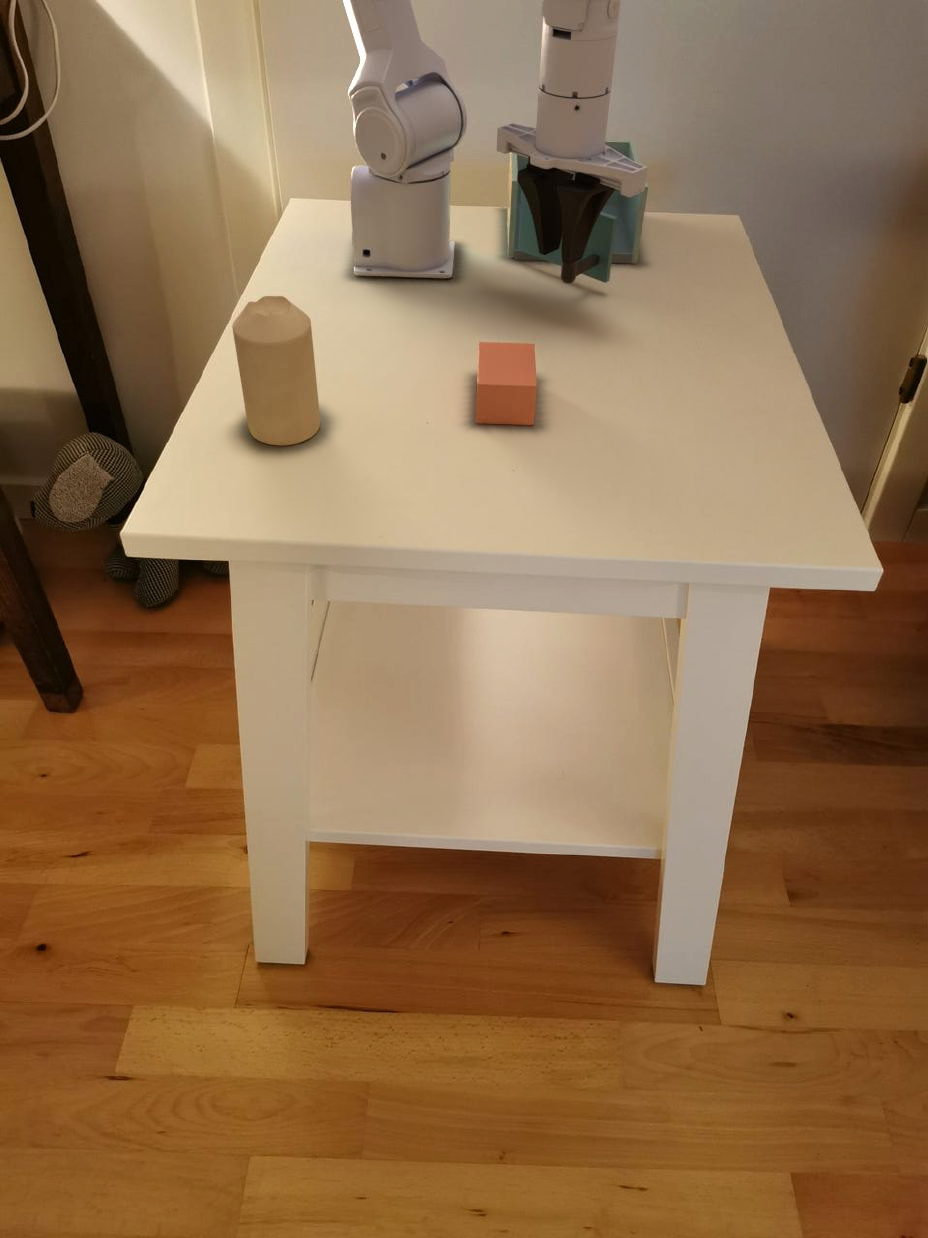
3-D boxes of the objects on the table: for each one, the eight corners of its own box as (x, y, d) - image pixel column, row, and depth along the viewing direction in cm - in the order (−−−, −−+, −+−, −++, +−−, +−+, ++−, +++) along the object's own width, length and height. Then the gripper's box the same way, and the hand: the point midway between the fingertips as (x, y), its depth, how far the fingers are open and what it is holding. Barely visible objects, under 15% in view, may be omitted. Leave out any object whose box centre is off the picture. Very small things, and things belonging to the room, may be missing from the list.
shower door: (486, 265, 93) (488, 197, 88) (521, 248, 96) (526, 181, 91) (574, 300, 88) (581, 230, 84) (609, 281, 91) (618, 212, 87)
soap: (476, 423, 76) (477, 383, 73) (477, 380, 80) (478, 341, 78) (533, 425, 76) (536, 385, 73) (531, 381, 80) (534, 343, 78)
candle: (307, 450, 73) (294, 327, 66) (237, 441, 73) (216, 317, 66) (329, 411, 76) (319, 290, 69) (263, 402, 77) (245, 282, 70)
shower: (507, 259, 97) (511, 182, 92) (507, 209, 106) (510, 136, 101) (636, 263, 97) (648, 186, 92) (625, 212, 106) (634, 139, 101)
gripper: (473, 77, 78) (470, 243, 88) (616, 120, 71) (595, 296, 81) (531, 60, 82) (522, 222, 91) (672, 100, 75) (646, 270, 84)
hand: (560, 255), depth 86 cm, fingers closed
